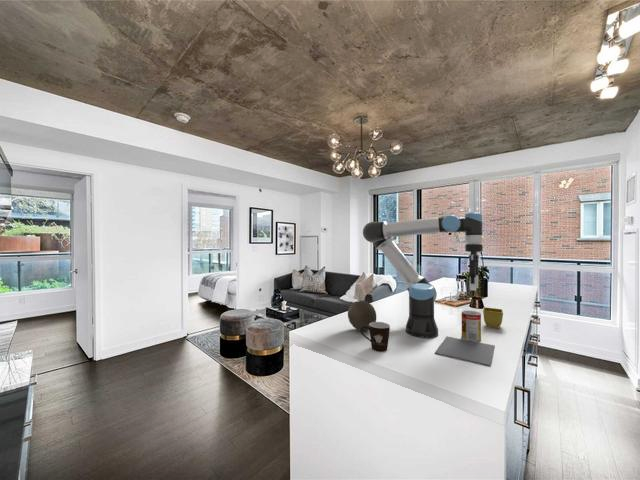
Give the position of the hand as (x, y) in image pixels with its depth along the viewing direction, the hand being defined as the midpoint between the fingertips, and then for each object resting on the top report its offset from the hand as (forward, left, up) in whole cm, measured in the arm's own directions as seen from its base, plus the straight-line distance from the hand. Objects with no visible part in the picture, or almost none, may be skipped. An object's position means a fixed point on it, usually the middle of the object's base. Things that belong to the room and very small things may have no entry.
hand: (474, 288), depth 135 cm
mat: (0, -29, -21) cm, 36 cm away
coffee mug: (-31, -48, -22) cm, 61 cm away
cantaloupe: (-46, -32, -22) cm, 60 cm away
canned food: (0, -12, -22) cm, 24 cm away
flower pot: (+7, +15, -22) cm, 27 cm away
